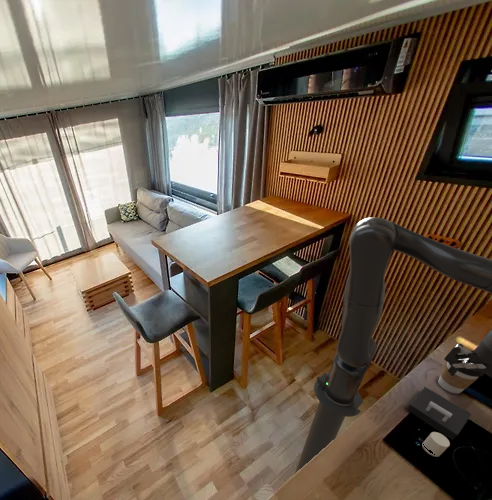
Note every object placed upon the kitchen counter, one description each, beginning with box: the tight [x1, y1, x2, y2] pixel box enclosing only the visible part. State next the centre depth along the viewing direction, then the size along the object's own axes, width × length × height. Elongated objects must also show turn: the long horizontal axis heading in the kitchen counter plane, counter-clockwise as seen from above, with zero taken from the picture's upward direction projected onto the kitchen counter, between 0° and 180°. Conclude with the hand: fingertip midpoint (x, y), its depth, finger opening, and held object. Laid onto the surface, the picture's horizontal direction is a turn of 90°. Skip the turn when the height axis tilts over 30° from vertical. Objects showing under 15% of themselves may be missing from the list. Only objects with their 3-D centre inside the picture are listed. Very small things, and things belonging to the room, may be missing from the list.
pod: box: [421, 431, 451, 458], centre depth 80 cm, size 4×4×7 cm
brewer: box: [406, 405, 457, 441], centre depth 88 cm, size 10×11×4 cm
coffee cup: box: [437, 354, 485, 395], centre depth 92 cm, size 8×8×15 cm
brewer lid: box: [409, 386, 472, 437], centre depth 85 cm, size 11×11×5 cm
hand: (475, 385), depth 69 cm, fingers open, 8 cm apart
